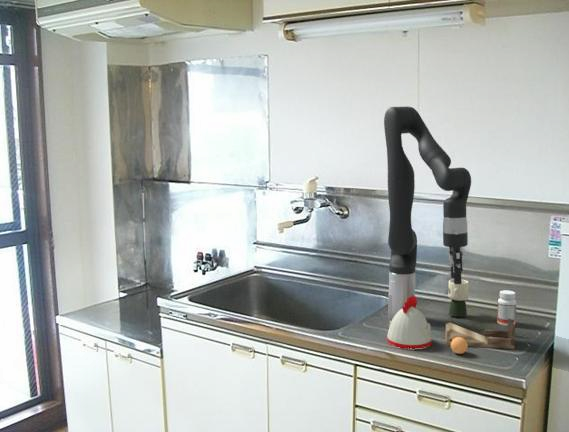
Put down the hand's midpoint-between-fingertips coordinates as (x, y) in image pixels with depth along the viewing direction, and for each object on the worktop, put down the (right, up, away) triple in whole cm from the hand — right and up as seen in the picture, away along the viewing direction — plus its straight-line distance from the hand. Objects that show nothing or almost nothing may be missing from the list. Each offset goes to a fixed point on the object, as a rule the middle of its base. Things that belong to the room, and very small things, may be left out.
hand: (456, 281), depth 201 cm
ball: (-2, -19, -10) cm, 21 cm away
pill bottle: (+23, -17, +18) cm, 34 cm away
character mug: (+8, -16, +27) cm, 33 cm away
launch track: (+7, -21, 0) cm, 23 cm away
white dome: (-15, -20, +1) cm, 25 cm away
